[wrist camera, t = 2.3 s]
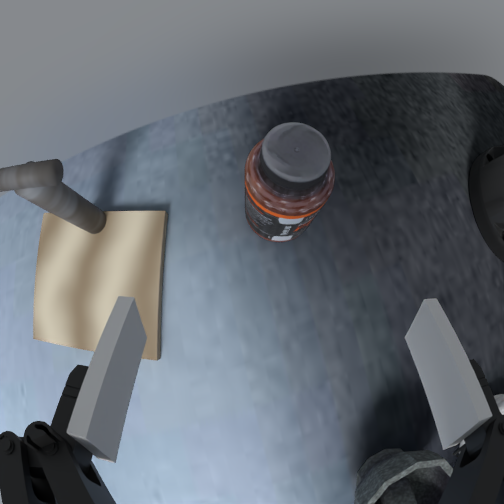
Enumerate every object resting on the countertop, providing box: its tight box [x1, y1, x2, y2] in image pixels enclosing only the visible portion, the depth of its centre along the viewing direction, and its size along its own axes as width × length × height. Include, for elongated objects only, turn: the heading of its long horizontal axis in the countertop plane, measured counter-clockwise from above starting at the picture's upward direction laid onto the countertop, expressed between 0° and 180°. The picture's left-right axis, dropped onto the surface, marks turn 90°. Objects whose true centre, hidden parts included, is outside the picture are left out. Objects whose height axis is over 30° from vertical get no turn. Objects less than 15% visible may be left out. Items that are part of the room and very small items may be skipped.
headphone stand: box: [0, 159, 168, 360], centre depth 20 cm, size 14×13×13 cm
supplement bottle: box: [245, 122, 335, 242], centre depth 22 cm, size 6×6×11 cm
